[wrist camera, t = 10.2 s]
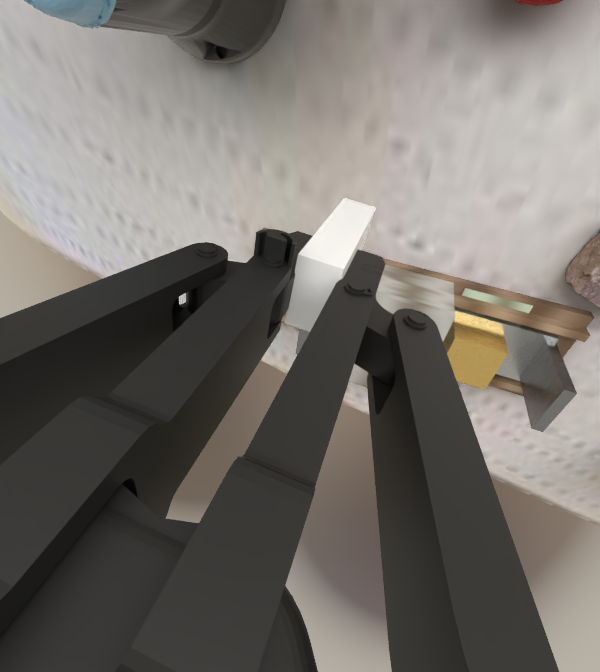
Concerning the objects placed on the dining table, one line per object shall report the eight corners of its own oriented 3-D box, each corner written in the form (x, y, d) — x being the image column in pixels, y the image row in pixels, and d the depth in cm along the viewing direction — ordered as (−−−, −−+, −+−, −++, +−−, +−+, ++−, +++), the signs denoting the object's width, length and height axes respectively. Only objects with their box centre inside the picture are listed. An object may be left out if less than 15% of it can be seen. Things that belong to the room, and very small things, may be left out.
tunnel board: (258, 310, 59) (231, 344, 51) (264, 227, 50) (232, 254, 43) (529, 392, 51) (543, 445, 44) (590, 312, 43) (620, 361, 35)
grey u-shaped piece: (316, 317, 54) (295, 356, 46) (325, 272, 49) (303, 308, 41) (525, 379, 48) (539, 435, 41) (557, 335, 44) (580, 389, 36)
